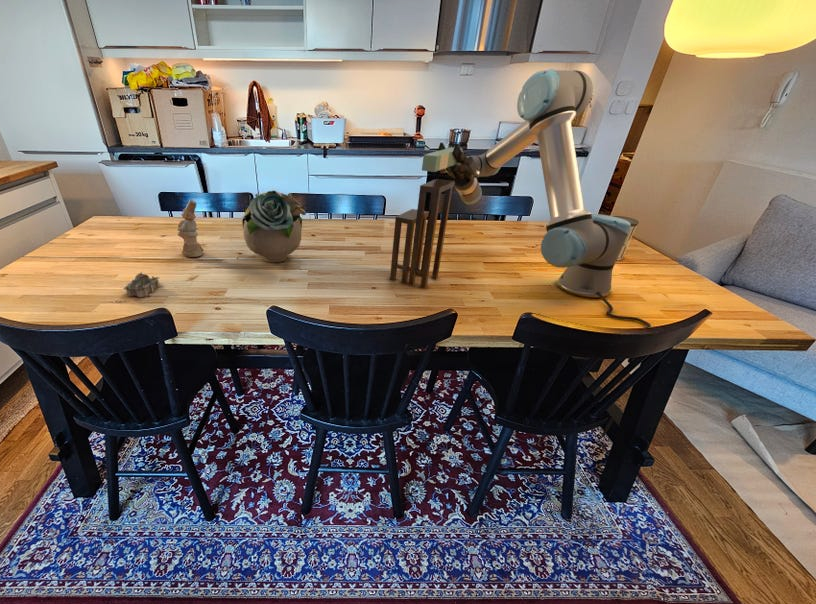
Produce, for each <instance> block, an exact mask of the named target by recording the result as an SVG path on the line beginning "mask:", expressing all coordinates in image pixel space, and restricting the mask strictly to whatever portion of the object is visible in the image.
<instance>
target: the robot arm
mask: <svg viewBox="0 0 816 604" xmlns="http://www.w3.org/2000/svg"><path fill="white" fill-rule="evenodd" d="M593 90H594V85H593V81H592V79H591V77H590V76H589V74H587V73H586V72H584V71H582V70H578V69H577V70H575V69H573V70H569V69H568V70H565V69H564V70H563V69H561V70H559V69H554V68H549V69H542V70H539V71H537V72H535V73H533V74H532V75H530V77H528V78H527V80H526V81H525V83H523V85H522V87H521V90H520V92H519V93H518V97H517V102H516V103H517V104H516V110H517V113H518V116H519V117H520V118H521V119H523V120H524V121H523V122H522V123H521V124H519V125H518V126H517V127H515V128H514V129H513V130H512V131H510V132H509V133H508V134H507V135H506V136H504V137H503V138H501V139H500V140H499V141H497V143H495V144H494V145H493V146H491V147H490V148H489V149H488V150H486V151H485V152H484V153H482V154H478V155H468V153H467V152H464V151H463V150H462V152H461V150H460V148H461V147H460V145H459V144H458V143H455V144H454V146H453V148H454V150H453V155H454V157H455V159H456V161H457V163H458V164H455V165H453V166H450V167H447V168H444V169H441V170H439V173H440V174H441V175H443V174H445V173H447V175H448V176H450V181H455V184H454V187H453V188H454V189H455V190H456V192H457V194H458V196H459V197H460V199H461V201H462V202H463V203H464V204H466V205H474V204H476V203H478V202H479V200H480V199H481V198H482V196H483V195H482V194H483V191H482V187H481V185H480V183H479V181H478V178H482V177H490V176H494V175H496V174H497V173H498V172H499V171H500V170H501V168H502V166H503V165H504V164H505V163H507V162H508V161H510V160H511V159H513V158H514V157H516V156H517V155H518V154H520V153H521V152H523V151H524V150H525V149H528V148H529V147H530V146H531V145H533V144H534V143H535V142H537V144H538V150H539V156H540V162H541V170H542V175H543V181H544V187H545V194H546V198H547V205H548V211H549V218H550V219H549V220H548V222H547V224H546V225H545V229H546V233H545V234H544V235H543V236H542V240H541V242H540V252H541V255H542V258H543V259H544V260H545V262H546V263H547V264H549V265H551V266H552V267H554V268H559V269H564V268H566V269H565V270H564V271H563V273H562V274H561V275H560V276H559V278H558V280H557V286H558V288H560V290H562V291H563V292H566V293H568V294H571V295H574V296H577V297H581V298H585V299H586V298H587V299H600V300H601V301H603V303H604V304H605V305H606V306H607V307H608V308H609V309H608V310H607V311H606V315H607V316H609V317H611V318H615V319H617V320H631V321H636V322H639V323H642V324H643V325H645V326H646V328H647V327H651V328H652V326H651V324H650V322H648V321H646V320H644V319H642V318H639V317H635V316H624V315H617V314H613V313H612V312H613V311H614V308H613V305H612V304H611V303H610V302H609V301H608V300H607V299H606V297H608V296H610V293H611V290H612V282H613V281H612V280H613V269H614V267H615V264H616V263H617V261H618V260H617V258H618V256H619V253H620V251H621V249H622V247H623V244H624V242H625V240H626V238H627V236H628V232H629V230H630V227H631V224H630V222H628V221H627V220H624V219H621V218H617V217H612V216H613V215H607V214H600V213H599V214H598V213H592V212H590V211H588V210H586V209H585V204H584V199H583V192H582V185H581V179H580V171H579V165H578V160H577V153H576V147H575V146H576V145H575V139H574V133H573V127H572V122H573V120H574V119H575V118H577V117H579V116H580V115H581V113H582V112H584V111H585V110H586V108H587V106H588V105H589V103H590V102H591V99H592V97H593V92H594V91H593ZM443 149H447V148H446V146H445V144H444V142H440V143H439V145H438V149H437V151H440V150H443ZM615 419H616V416H614V417H611V418H610V419H609V421H608V422H607V424H606V426H605V428H604V429H603V432H602V433H601V436H600V437H601V438H605V436H606V434H607V432H608V431H609V429H610V427H611V425H612V424H613V422H614V420H615Z"/></svg>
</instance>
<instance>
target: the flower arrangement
mask: <svg viewBox="0 0 816 604" xmlns="http://www.w3.org/2000/svg"><path fill="white" fill-rule="evenodd" d="M254 196H255V197H252V198H251V201H250V202H249V205H248V207H247V208H246V209H245V210H244V211H245V213H244V214H243V215H242V216H241V218H242V219H241V221H242V229H243V230H242V233H243V239H244V240H243V241H244V242H245V244H246V246H247V248H248V249H249V250H250V251H251V252H253V253H254V254H256V255H257V256H260V257H262V258H263V259H264V261H265V262H268V263H281V262H284V261H285V260H286V259H287V257H288V255H291V254H292V253H294V252H295V251H296V250H297V249H298V248H299V247H300V244H301V241H302V229H303V228H302V227H303V218H302V217H301V216H306V215H307V213H306V211H305V209H304V208H305V207H304V205H302V204H301V203H300V202H298V200H297V199H295V198H294V196H293V194H292V193H291V192H289V193H287V194H286V193H283V192H280V191H277V190H274V189H272V190H268V191H266V192H262V193H260V194H259V193H258V192H256V194H254ZM300 215H301V216H300Z"/></svg>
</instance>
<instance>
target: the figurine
mask: <svg viewBox="0 0 816 604" xmlns="http://www.w3.org/2000/svg"><path fill="white" fill-rule="evenodd" d="M196 208H197V202H196V201H195V200H193V199H189V201H188V202H187V204H186V207H185V208H183V210H182V213H181V217H182V219H183V220H181V221H179V223H178V225H177V232H178V233H177V236H178V237H180V238H181V239H182V240H183V245H182V250H181V254H182V255H184V256H185V257H189V258H194V257H201V256H202V255H203V254H204V253H203V252H204V249H203V247H202V245H201V244H200V242H198V239H197V237H198V235H199V233H198V231H197V221H196V220H195V219H196V218H197V215H196V214H195V211H196Z"/></svg>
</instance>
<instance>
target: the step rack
mask: <svg viewBox="0 0 816 604" xmlns="http://www.w3.org/2000/svg"><path fill="white" fill-rule="evenodd" d="M454 184H455V181H451V180H448V179H447V180H446V179H440V178H436V179H433V180H430V181H428V182H426V183H425V182H424V183H423V184H421V185H419V193H418V201H417V209H416V208H411V209H409V210H406V211H404V212H403V213H400V214H399V215H397V216H395V220H394V231H393V240H392V252H391V263H390V275H389V280H390V281H395V280H396V279H397V274H398V273H397V271H398V269H399V270H401V271H402V273H401V284H405V285H406V284H407V283H408V285H409V286H414V285H415V284H416V276H417V275H419V276H421V281H420V287H419V288H421V289H426V288H427V287H428V281H429V273H430V269H431V268H430V267H431V261H432V254H433V248H434V241H435V235H436V227H437V221H438V215H439V207H440V201H441V195H442V193H444V196H443V203H442V210H441V217H440V223H439V230H438V234H437V243H436V248H435V255H434V262H433V268H432V272H431V273H432V274H431V279H432V280H437V279H438V277H439V271H440V267H441V260H442V254H443V248H444V242H445V235H446V230H447V224H448V218H449V212H450V205H451V199H452V194H453V188H455V187H454ZM427 193H430V200H429V206H428V211H427V210H425V209H426V208H425V207H426V198H427ZM402 224H406V231H405V232H406V233H405V242H404V251H403V259H402V264H399V263H398V262H399V253H400V245H401V233H402Z"/></svg>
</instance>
